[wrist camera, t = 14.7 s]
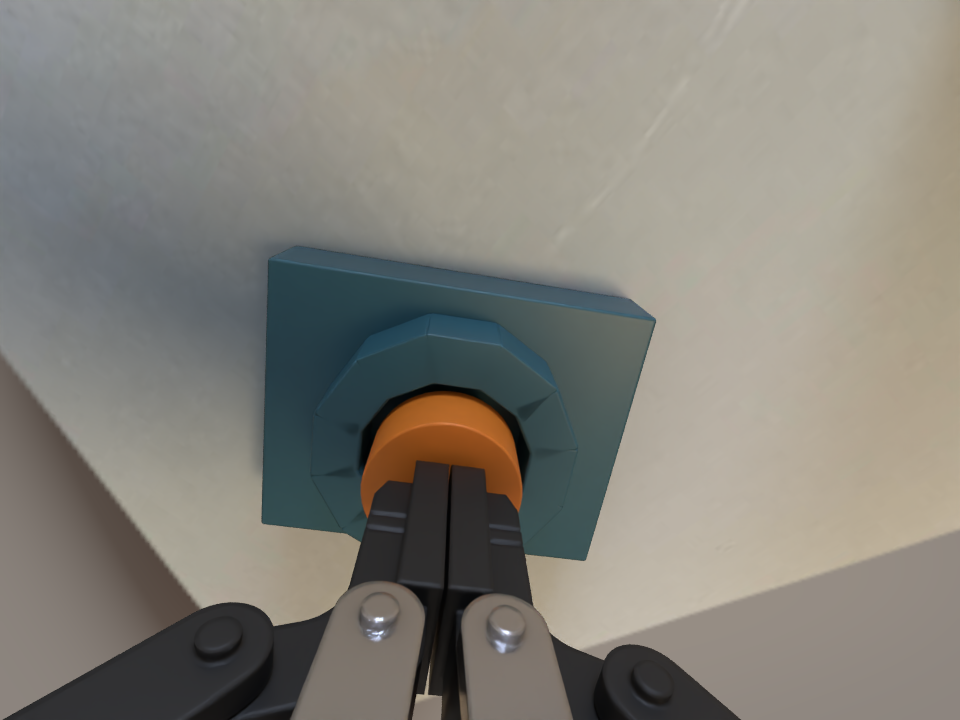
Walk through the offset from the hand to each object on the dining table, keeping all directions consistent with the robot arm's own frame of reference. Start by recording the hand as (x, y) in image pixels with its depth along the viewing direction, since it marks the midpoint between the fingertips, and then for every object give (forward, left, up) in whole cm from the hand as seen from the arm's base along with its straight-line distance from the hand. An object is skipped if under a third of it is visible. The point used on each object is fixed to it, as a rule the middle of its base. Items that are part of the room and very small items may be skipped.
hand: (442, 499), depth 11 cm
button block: (0, 0, -6) cm, 6 cm away
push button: (0, 0, -2) cm, 2 cm away
